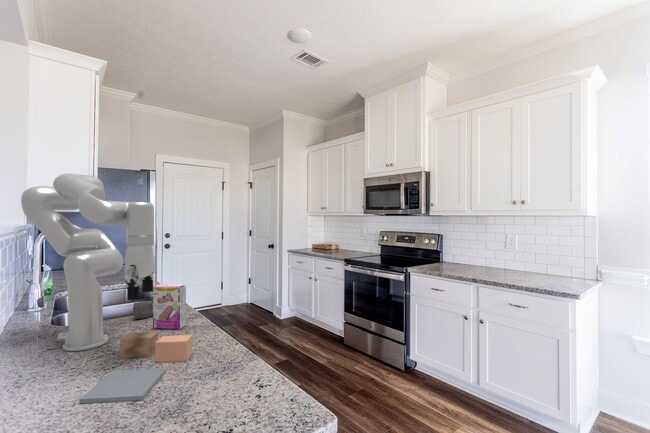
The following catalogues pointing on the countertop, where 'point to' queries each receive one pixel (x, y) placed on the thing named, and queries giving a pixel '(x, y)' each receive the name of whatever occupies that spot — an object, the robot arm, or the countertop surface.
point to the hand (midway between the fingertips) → (140, 295)
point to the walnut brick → (138, 344)
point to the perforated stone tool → (143, 309)
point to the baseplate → (124, 386)
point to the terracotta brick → (173, 348)
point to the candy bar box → (169, 306)
